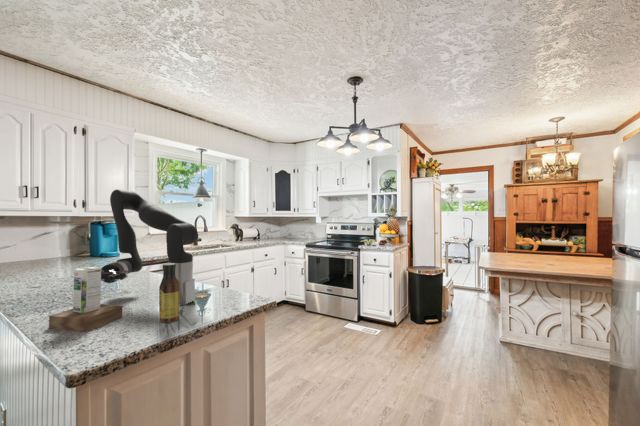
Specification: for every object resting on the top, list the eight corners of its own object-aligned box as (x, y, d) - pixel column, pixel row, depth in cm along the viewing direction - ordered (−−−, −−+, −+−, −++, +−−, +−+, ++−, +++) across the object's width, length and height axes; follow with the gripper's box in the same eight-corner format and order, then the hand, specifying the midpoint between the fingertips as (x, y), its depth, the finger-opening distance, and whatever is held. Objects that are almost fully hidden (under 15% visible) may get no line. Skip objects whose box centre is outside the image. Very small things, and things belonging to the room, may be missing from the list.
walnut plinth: (122, 316, 108) (122, 305, 108) (85, 331, 94) (85, 318, 94) (89, 314, 110) (89, 303, 110) (48, 328, 96) (49, 315, 96)
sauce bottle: (163, 317, 107) (164, 262, 107) (181, 317, 108) (182, 262, 108) (155, 324, 100) (156, 265, 101) (174, 323, 101) (175, 264, 101)
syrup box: (71, 312, 100) (72, 268, 101) (91, 307, 106) (91, 266, 106) (82, 314, 98) (83, 270, 98) (101, 309, 104) (101, 267, 104)
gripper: (94, 263, 121) (72, 270, 105) (133, 261, 125) (118, 268, 109) (94, 281, 121) (72, 291, 105) (133, 279, 124) (118, 289, 109)
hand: (95, 279), depth 107 cm, fingers open, 8 cm apart
